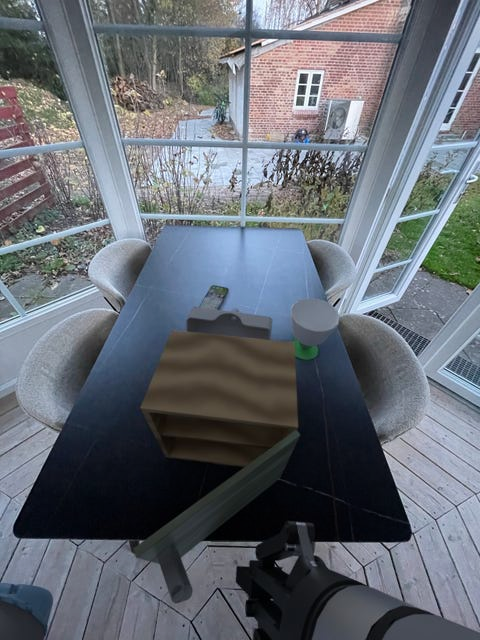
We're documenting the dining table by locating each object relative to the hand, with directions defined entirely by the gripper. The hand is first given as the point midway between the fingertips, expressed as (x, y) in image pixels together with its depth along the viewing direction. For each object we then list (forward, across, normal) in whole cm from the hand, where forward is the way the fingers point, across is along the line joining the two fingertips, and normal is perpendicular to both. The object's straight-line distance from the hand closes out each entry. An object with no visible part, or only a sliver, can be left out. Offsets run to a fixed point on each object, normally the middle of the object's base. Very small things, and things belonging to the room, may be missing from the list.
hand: (246, 574), depth 33 cm
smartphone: (+37, +71, +7) cm, 80 cm away
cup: (+25, +50, -24) cm, 60 cm away
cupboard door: (+21, +3, -4) cm, 21 cm away
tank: (+31, +51, 0) cm, 60 cm away
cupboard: (+26, +23, -1) cm, 34 cm away
